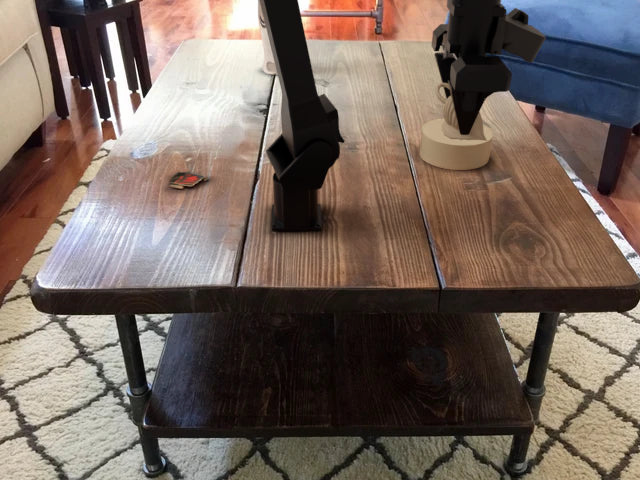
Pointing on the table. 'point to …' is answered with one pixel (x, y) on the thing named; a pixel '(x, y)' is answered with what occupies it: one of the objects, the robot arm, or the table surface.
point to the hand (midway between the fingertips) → (459, 123)
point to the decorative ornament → (450, 119)
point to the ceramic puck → (453, 148)
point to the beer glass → (266, 45)
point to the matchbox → (185, 179)
